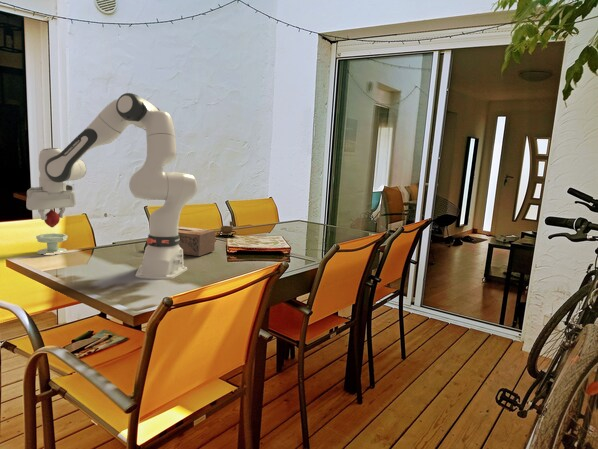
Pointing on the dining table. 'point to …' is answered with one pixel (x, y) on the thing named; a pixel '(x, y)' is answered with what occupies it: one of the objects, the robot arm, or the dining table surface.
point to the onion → (52, 218)
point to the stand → (51, 242)
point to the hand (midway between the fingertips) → (52, 218)
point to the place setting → (227, 229)
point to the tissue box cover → (196, 240)
